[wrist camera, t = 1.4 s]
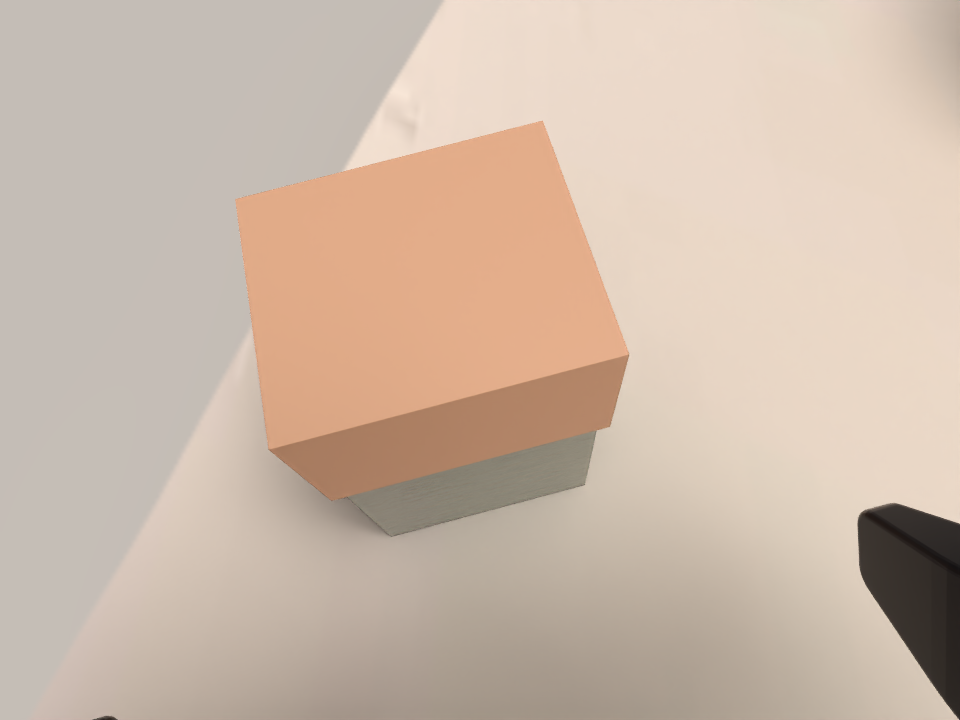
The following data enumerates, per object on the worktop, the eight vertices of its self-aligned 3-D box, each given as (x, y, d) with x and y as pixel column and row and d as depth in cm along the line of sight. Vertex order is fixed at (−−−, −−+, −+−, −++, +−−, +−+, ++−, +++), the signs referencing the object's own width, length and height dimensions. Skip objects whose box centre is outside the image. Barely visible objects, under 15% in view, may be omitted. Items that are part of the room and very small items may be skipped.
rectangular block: (610, 426, 16) (629, 354, 12) (331, 500, 16) (268, 449, 12) (542, 231, 18) (543, 120, 15) (297, 294, 18) (235, 198, 14)
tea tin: (585, 484, 22) (601, 408, 15) (391, 536, 22) (329, 481, 15) (539, 339, 24) (537, 221, 18) (361, 386, 24) (296, 283, 17)
